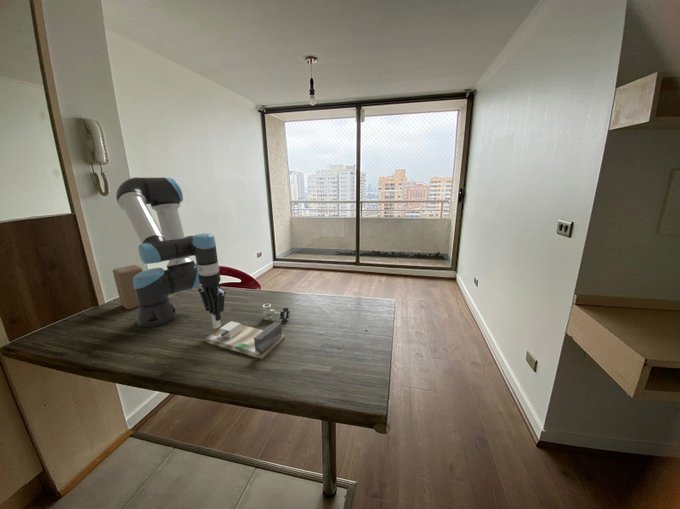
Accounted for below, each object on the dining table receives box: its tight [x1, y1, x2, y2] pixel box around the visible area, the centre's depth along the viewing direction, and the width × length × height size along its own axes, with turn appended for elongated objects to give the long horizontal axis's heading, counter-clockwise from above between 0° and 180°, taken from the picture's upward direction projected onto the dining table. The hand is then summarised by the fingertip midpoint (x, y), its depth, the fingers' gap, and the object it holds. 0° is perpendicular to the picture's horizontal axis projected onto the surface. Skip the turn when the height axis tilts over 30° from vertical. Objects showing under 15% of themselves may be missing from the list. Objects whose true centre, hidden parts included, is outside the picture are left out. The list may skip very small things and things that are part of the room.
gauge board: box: [204, 321, 286, 360], centre depth 103 cm, size 28×14×7 cm, turn 67°
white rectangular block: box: [219, 320, 242, 339], centre depth 105 cm, size 5×9×4 cm, turn 157°
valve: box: [262, 303, 291, 323], centre depth 119 cm, size 7×7×12 cm
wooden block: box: [112, 264, 144, 310], centre depth 134 cm, size 10×10×20 cm
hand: (217, 326), depth 109 cm, fingers closed
